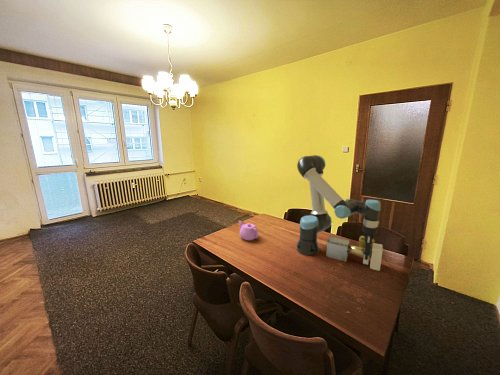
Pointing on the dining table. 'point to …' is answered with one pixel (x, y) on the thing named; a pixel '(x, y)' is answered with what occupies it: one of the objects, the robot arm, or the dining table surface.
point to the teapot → (248, 231)
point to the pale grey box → (337, 248)
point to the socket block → (376, 256)
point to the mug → (362, 242)
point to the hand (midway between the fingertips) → (365, 260)
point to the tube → (357, 251)
